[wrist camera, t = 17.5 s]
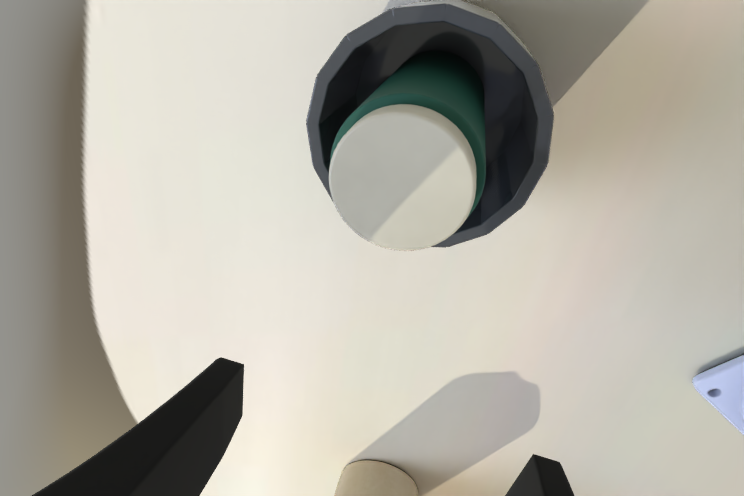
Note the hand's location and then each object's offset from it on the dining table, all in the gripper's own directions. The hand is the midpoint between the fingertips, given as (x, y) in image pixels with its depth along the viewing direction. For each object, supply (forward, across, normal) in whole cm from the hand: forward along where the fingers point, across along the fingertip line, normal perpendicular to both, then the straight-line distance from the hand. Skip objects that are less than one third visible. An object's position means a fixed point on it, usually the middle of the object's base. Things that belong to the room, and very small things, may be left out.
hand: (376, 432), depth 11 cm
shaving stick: (+10, +1, -6) cm, 11 cm away
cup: (+10, +1, -6) cm, 12 cm away
